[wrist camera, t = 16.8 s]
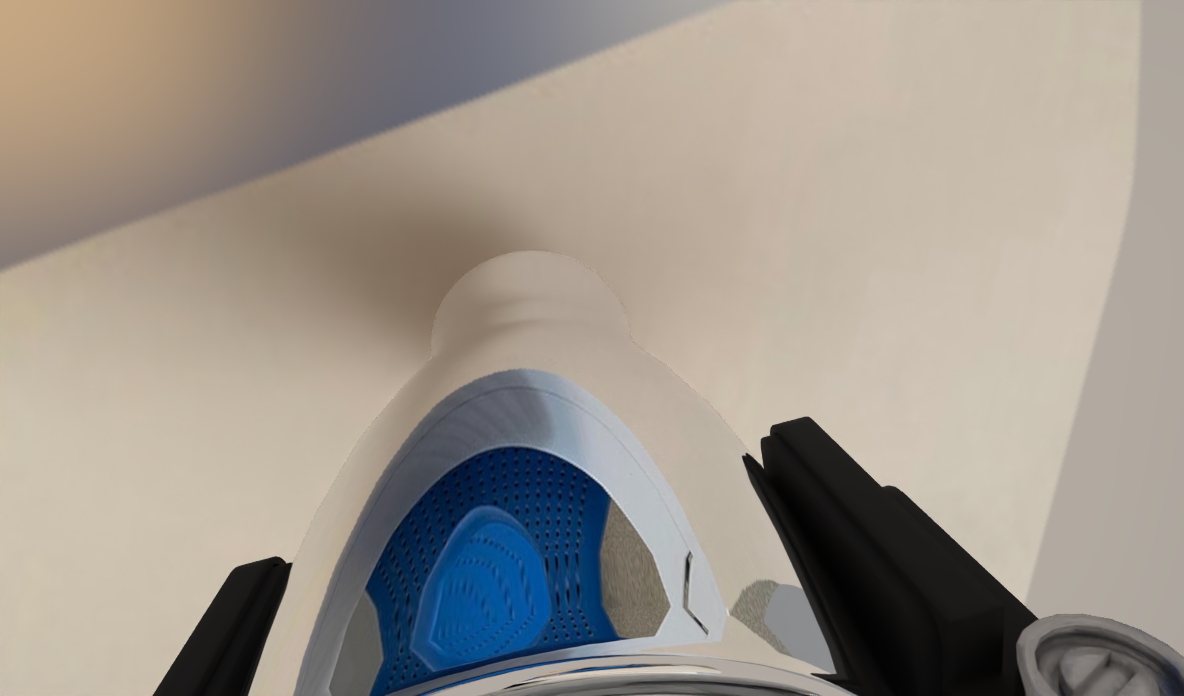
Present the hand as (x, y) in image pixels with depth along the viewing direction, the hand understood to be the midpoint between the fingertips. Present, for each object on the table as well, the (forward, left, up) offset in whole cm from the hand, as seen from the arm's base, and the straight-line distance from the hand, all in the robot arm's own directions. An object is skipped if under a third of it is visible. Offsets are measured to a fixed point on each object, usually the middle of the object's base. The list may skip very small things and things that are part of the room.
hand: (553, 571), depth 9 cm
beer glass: (0, 0, -10) cm, 10 cm away
